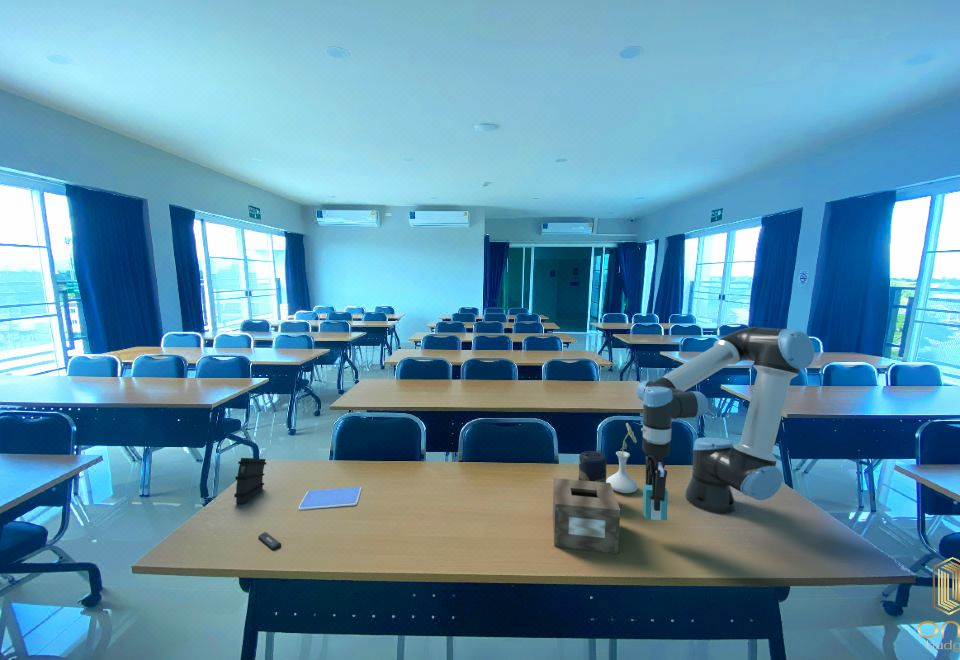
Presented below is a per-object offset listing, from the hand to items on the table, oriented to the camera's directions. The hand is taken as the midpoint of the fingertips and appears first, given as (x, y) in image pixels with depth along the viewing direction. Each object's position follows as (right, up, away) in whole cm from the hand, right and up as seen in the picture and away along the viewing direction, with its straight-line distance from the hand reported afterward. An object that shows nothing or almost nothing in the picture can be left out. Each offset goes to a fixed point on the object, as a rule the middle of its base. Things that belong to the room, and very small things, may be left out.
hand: (653, 515), depth 113 cm
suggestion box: (-20, -7, +4) cm, 22 cm away
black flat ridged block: (-135, -4, +24) cm, 138 cm away
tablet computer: (-106, -6, +22) cm, 108 cm away
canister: (-12, -6, +23) cm, 26 cm away
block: (0, 0, 0) cm, 0 cm away
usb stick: (-114, -7, -2) cm, 114 cm away
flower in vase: (+3, -5, +32) cm, 33 cm away
